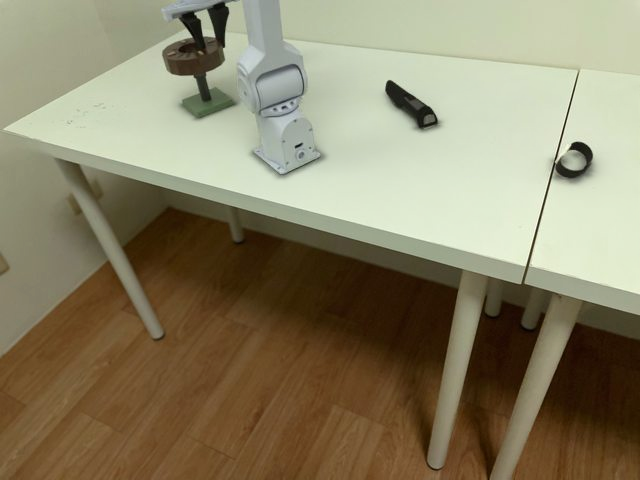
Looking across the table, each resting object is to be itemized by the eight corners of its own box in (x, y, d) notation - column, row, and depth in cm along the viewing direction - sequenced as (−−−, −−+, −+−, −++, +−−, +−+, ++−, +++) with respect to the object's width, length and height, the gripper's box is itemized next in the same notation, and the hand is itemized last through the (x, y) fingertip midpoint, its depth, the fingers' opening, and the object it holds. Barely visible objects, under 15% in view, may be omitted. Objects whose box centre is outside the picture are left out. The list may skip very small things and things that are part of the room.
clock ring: (235, 62, 89) (231, 45, 87) (180, 81, 85) (175, 64, 82) (209, 47, 96) (205, 31, 94) (158, 64, 92) (153, 47, 90)
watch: (564, 150, 73) (570, 130, 71) (596, 159, 71) (604, 138, 69) (545, 175, 69) (551, 154, 67) (579, 185, 67) (586, 164, 65)
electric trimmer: (397, 91, 94) (397, 76, 91) (439, 124, 83) (440, 108, 80) (380, 96, 93) (380, 81, 91) (420, 130, 82) (421, 114, 80)
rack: (233, 104, 96) (226, 72, 91) (198, 118, 93) (188, 86, 89) (217, 91, 101) (209, 61, 97) (183, 104, 98) (173, 73, 94)
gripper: (220, -42, 87) (236, 33, 96) (146, -22, 81) (170, 55, 91) (237, -36, 82) (252, 42, 92) (160, -15, 77) (184, 66, 86)
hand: (212, 49), depth 91 cm, fingers closed on clock ring, 3 cm apart
